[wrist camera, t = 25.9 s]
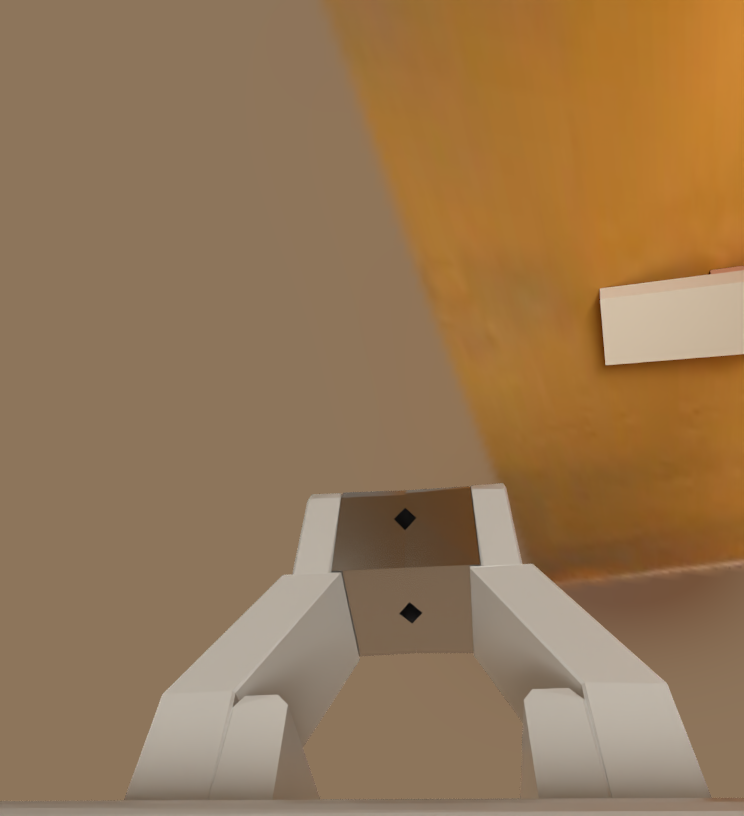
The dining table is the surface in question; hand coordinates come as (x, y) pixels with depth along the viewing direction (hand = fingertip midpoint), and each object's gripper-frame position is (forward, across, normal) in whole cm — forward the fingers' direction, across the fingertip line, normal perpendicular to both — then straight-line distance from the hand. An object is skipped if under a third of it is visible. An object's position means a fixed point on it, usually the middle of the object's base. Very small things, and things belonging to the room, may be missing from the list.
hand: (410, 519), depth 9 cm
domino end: (+30, -12, +12) cm, 35 cm away
